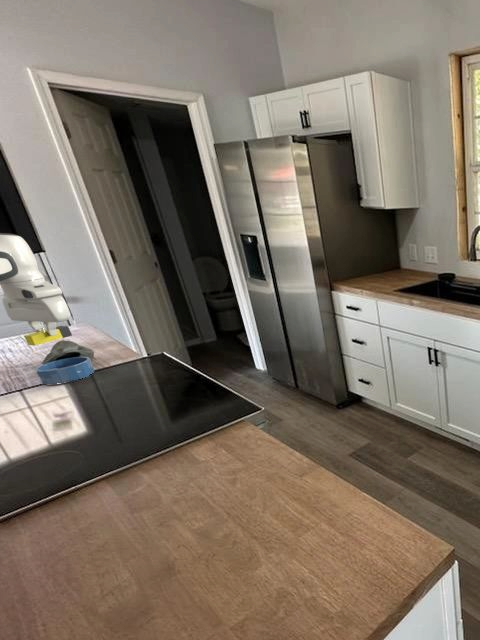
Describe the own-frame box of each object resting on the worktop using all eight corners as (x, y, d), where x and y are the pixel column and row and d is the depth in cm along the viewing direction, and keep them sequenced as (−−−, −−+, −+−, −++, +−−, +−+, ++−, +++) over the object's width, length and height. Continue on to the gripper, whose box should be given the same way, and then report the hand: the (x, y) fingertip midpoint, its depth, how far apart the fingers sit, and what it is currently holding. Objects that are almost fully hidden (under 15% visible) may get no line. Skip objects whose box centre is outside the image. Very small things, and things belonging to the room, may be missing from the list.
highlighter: (35, 345, 121) (30, 335, 120) (28, 345, 122) (23, 335, 121) (72, 335, 129) (68, 326, 128) (65, 335, 130) (60, 325, 129)
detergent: (99, 365, 142) (95, 348, 159) (89, 346, 139) (85, 331, 156) (46, 380, 134) (47, 360, 150) (34, 360, 131) (36, 342, 147)
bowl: (60, 387, 126) (53, 372, 124) (31, 384, 128) (24, 370, 127) (105, 371, 137) (99, 357, 135) (77, 369, 140) (71, 355, 138)
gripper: (-13, 291, 119) (10, 336, 124) (37, 293, 115) (59, 339, 120) (16, 287, 125) (36, 330, 130) (65, 288, 120) (84, 332, 125)
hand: (47, 334), depth 125 cm, fingers closed on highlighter, 3 cm apart
